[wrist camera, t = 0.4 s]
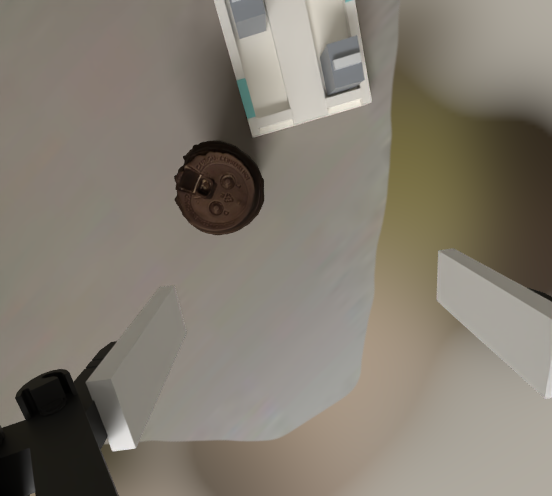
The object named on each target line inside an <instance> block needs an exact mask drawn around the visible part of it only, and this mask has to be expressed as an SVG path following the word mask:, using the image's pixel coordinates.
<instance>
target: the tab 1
mask: <svg viewBox="0 0 552 496" xmlns="http://www.w3.org/2000/svg"><path fill="white" fill-rule="evenodd" d="M229 2H230V5H231V9H232V13H233V16H234V20H235V24H236V28H237V31H238V35H239V39H242V38H245V37H248V36H251V35H254V34H258V33H261V32H264V31H266V12H265V8H264V4H263V0H229Z"/></svg>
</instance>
